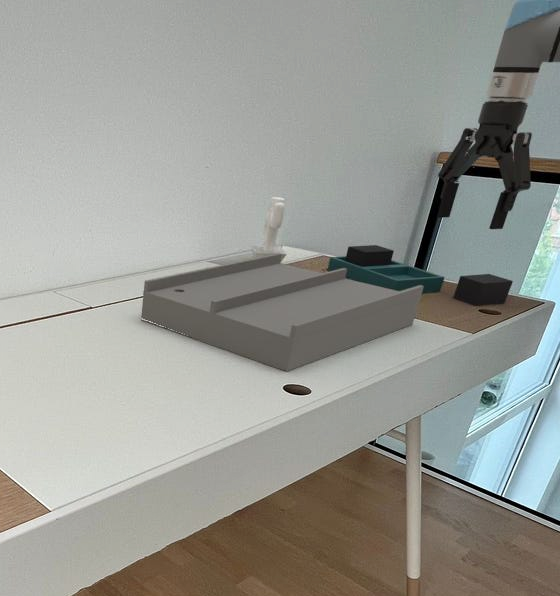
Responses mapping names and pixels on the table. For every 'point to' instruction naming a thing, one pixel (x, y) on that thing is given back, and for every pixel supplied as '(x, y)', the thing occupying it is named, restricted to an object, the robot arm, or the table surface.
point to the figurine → (271, 230)
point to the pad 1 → (369, 255)
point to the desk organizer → (277, 310)
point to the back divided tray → (389, 275)
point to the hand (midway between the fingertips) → (468, 223)
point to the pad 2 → (482, 289)
